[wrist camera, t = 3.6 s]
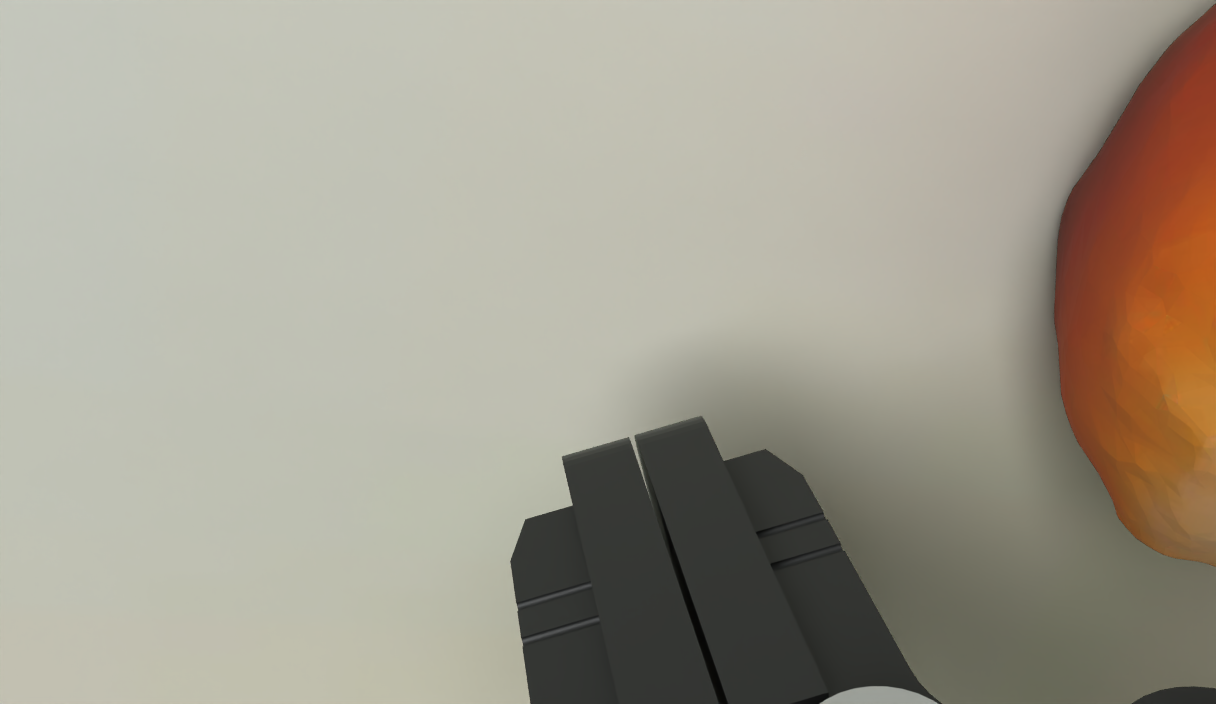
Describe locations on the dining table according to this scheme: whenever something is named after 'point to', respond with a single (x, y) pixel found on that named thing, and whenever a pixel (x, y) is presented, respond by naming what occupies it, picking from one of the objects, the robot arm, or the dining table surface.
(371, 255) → the dining table surface
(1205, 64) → the fruit
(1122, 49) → the dining table surface
